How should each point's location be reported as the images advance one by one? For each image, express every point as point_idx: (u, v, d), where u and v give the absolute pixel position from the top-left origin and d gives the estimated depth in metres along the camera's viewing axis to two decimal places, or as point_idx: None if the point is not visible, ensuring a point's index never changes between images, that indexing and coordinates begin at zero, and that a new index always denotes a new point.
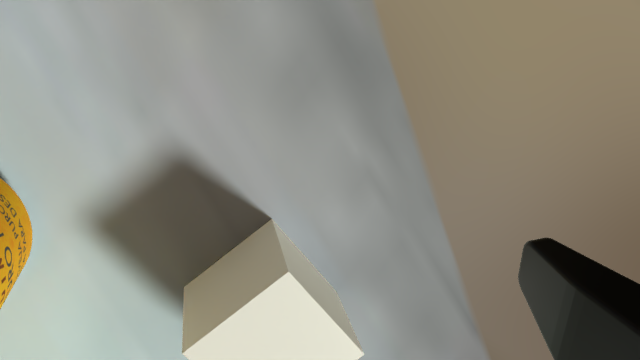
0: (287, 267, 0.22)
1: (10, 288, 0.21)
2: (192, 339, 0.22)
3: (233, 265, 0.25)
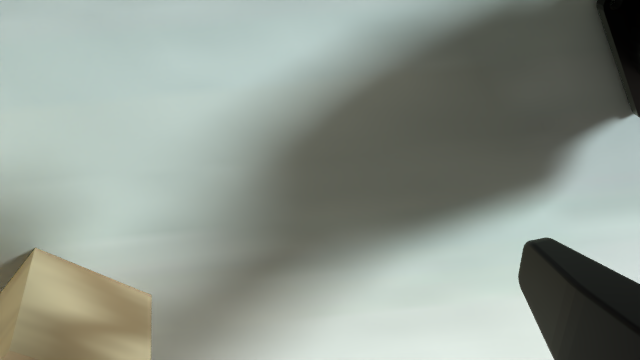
0: None
1: None
2: None
3: None
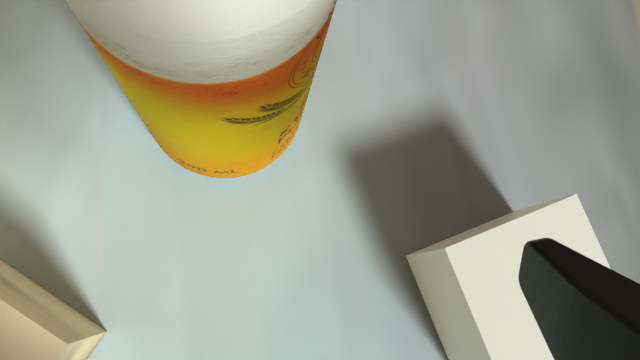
0: None
1: (289, 133, 0.21)
2: (454, 243, 0.20)
3: (477, 228, 0.23)
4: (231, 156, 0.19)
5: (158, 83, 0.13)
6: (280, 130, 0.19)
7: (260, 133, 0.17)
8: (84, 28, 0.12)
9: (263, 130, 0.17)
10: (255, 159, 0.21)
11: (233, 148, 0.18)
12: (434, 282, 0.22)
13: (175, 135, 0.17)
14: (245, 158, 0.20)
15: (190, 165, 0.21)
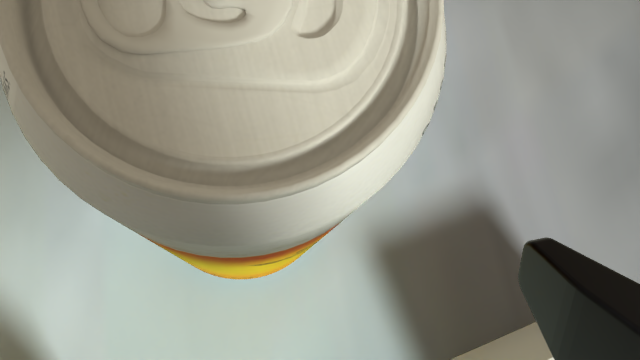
0: None
1: None
2: None
3: (526, 336, 0.20)
4: (253, 273, 0.17)
5: (176, 251, 0.10)
6: None
7: (290, 259, 0.15)
8: None
9: (294, 257, 0.15)
10: (278, 268, 0.18)
11: (257, 271, 0.16)
12: None
13: (190, 262, 0.15)
14: (268, 271, 0.17)
15: (203, 270, 0.19)
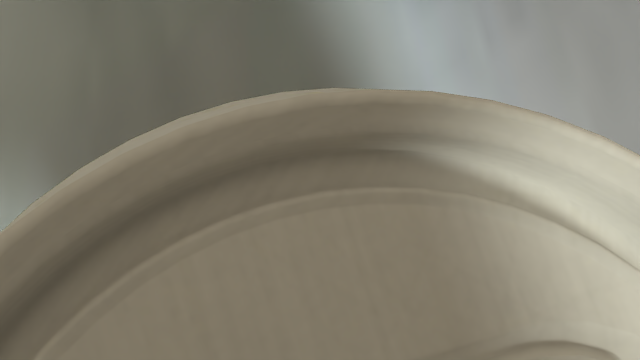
0: None
1: None
2: None
3: None
4: None
5: None
6: None
7: None
8: None
9: None
10: None
11: None
12: None
13: None
14: None
15: None
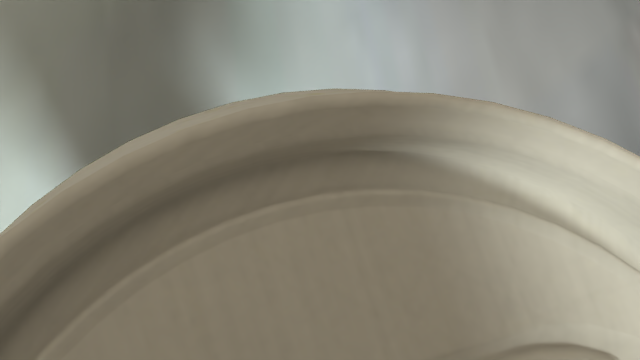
0: None
1: None
2: None
3: None
4: None
5: None
6: None
7: None
8: None
9: None
10: None
11: None
12: None
13: None
14: None
15: None
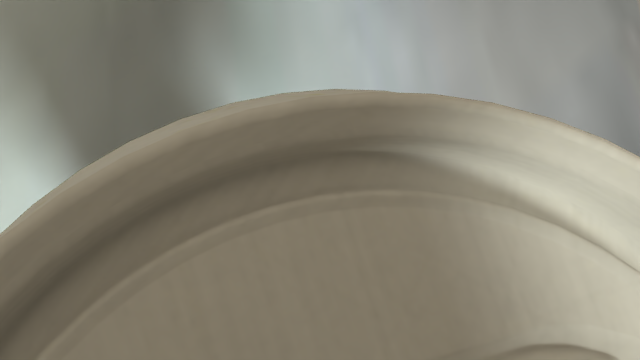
0: None
1: None
2: None
3: None
4: None
5: None
6: None
7: None
8: None
9: None
10: None
11: None
12: None
13: None
14: None
15: None
